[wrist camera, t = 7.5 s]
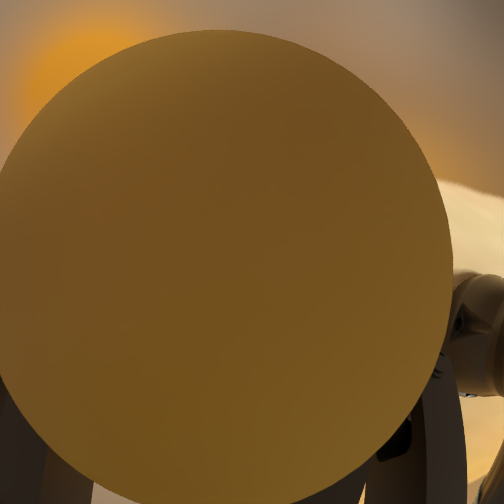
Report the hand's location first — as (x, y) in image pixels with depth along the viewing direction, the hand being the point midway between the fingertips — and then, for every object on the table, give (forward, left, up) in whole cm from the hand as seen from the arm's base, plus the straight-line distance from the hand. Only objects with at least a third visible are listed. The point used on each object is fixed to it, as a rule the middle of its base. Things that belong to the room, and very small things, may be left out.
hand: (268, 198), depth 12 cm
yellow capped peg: (-3, +2, -6) cm, 7 cm away
